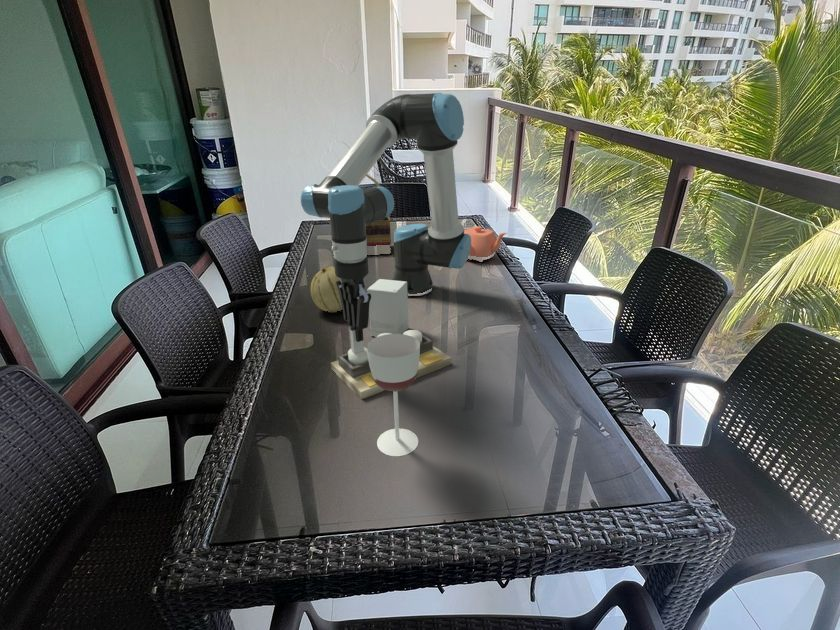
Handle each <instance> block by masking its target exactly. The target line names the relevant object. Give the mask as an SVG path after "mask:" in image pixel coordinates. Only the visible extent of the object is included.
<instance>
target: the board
mask: <svg viewBox="0 0 840 630" xmlns="http://www.w3.org/2000/svg"><path fill="white" fill-rule="evenodd" d="M433 343H434V341H433V340H432V339H430V338H429V337H427V336H426V335H424V334H422V343H421V344H420V356H419V365H418V370H417V375H416V378H415V379H417V378H420V377H422V376H425V375H429V374H430V373H433V372H436V371H437V370H441V369H443V368H445V367H448V366H450V365H451V364H452V358H451V356H449V355H447V354H446V353H445V352H443V351H442V350H440V349H438V348H437V347H435V346H434V344H433ZM365 348H367V346H365ZM330 368H331V369H332V370H333V371H334V372H335V373H336V374H335V373H334V372H333V371H332V372H333V373H334V374H335V375H336V376H337V377H338V378H339V379H340V380H341V381H342V382H343V383H344V384H345V385H347V387H348V388H349V389H350V390H351V391H352V392H353V393H354V394H355V395H356V396H357V397H358V398H360V400H363V399H366V398H369V397H372V396H375V395H376V394H379V393H382V392H384V391H386V390H385V389H382V388H381V387H379V386H378V385H377V384H376V383H375V381H374V379H373V376H372V373H371V370H370V366H369V362H366V363H364V364H361V365H358V366H355V367H353V366H352V365H351V364H350V363H349V358H348V352H347V353H344V354H340V355H338V356H337V360H335V361H332V362H330Z"/></svg>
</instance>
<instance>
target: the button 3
mask: <svg viewBox="0 0 840 630" xmlns="http://www.w3.org/2000/svg"><path fill="white" fill-rule="evenodd" d="M403 335H408V336H412V337H414V338H416V339H417V340H418V341H419V343H420V344H421V343H422V335H423V334H422V332H421V331H420V330H417V329H407V330H406V331H405V332H404V333H403Z"/></svg>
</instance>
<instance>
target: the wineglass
mask: <svg viewBox="0 0 840 630" xmlns="http://www.w3.org/2000/svg"><path fill="white" fill-rule="evenodd" d="M366 347H367V355H368V360H369V366H370V370H371V373H372V376H373V379H374V381H375V383H376V384H377V385H378V386H379V387H381V388H382V389H385V390H384V391H389V392H393V414H394V418H393V419H394V428H391V429H388V430H385V431H384V432H382V433H381V434H380V435H379V437H378V438H377V441H376V445H377V448H378V450H379V451H380V452H381V453H383V454H385V455H387V456H390V457H401V456H406V455H408V454H410V453H413V451H414V450H416V448H417V447H418V445H419V438H418V436H417V434H415V433H414V432H413V431H411V430H409V429H406V428H400V422H399V421H400V417H399V416H400V415H399V393H398V392H399V391H403V390H406V389H407V388H409V387H411V386H412V385H413V383H414V382H415V381H416V379H417V378H416V375H417V370H418V365H419V356H420V343H419V341H418V340H417V339H416V338H414V337H412V336H408V335H403V334H388V335H382V336H379V337H373V338H372V339H371V340H370V341H368V343H367V344H366Z"/></svg>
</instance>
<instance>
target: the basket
mask: <svg viewBox="0 0 840 630" xmlns="http://www.w3.org/2000/svg"><path fill="white" fill-rule="evenodd" d="M365 177H367V178H368V179H369V180H371V181H372V182H373V183H374V184H375V186H376V187H382V186H381V185H380V184H379V182H378V181H377V180H376V179H375V178H374V177H372V176H370V175H369V174H368V173H367V175H366V176H365ZM391 221H392V219H391V214H390V215H389V216H387V217H386V218H384V219H383V220H381V221H377V222H374V223H372V224H369V225H367V226H366V238H367V246H376V245H390V244H391V245H392V241H391V240H392V239H391ZM328 224H329V225H330V227H331V224H330V220H329V222H328ZM330 234H331V236H330V237H332V232H331V231H330ZM331 245H332V244H331ZM331 247H333V245H332V246H331Z"/></svg>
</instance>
